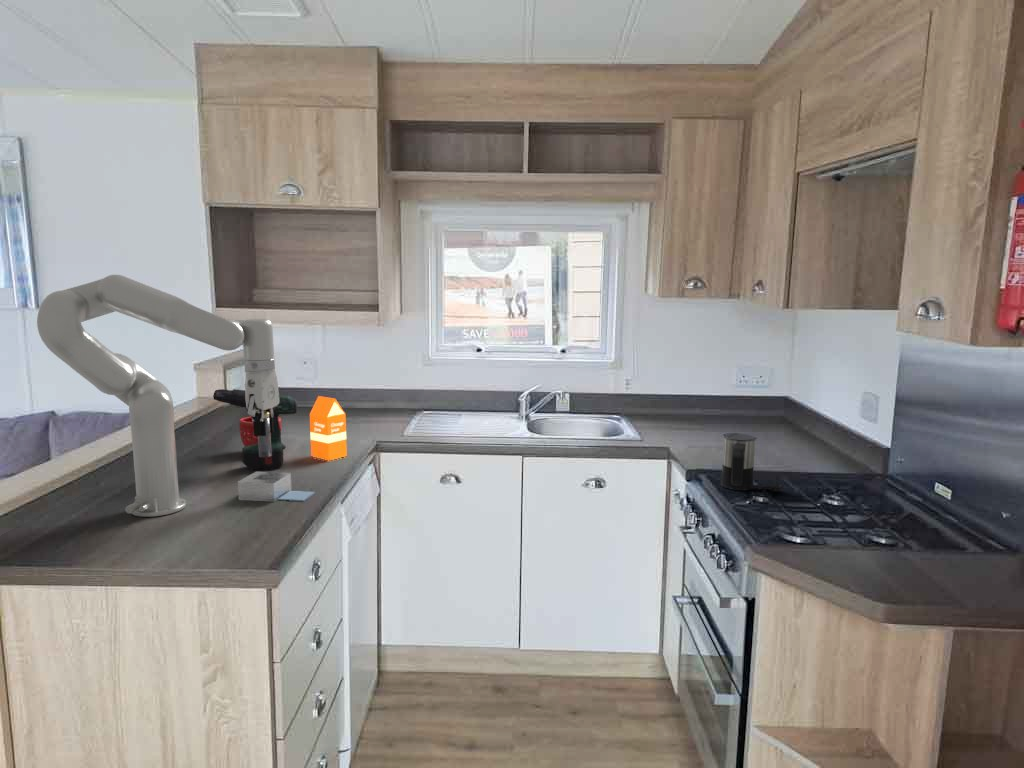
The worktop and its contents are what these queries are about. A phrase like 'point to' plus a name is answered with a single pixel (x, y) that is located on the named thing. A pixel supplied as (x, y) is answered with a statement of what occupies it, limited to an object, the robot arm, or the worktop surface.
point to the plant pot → (249, 431)
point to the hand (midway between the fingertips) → (263, 433)
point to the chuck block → (264, 486)
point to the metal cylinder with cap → (265, 438)
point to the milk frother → (740, 463)
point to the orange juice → (327, 429)
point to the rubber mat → (296, 495)
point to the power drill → (252, 451)
